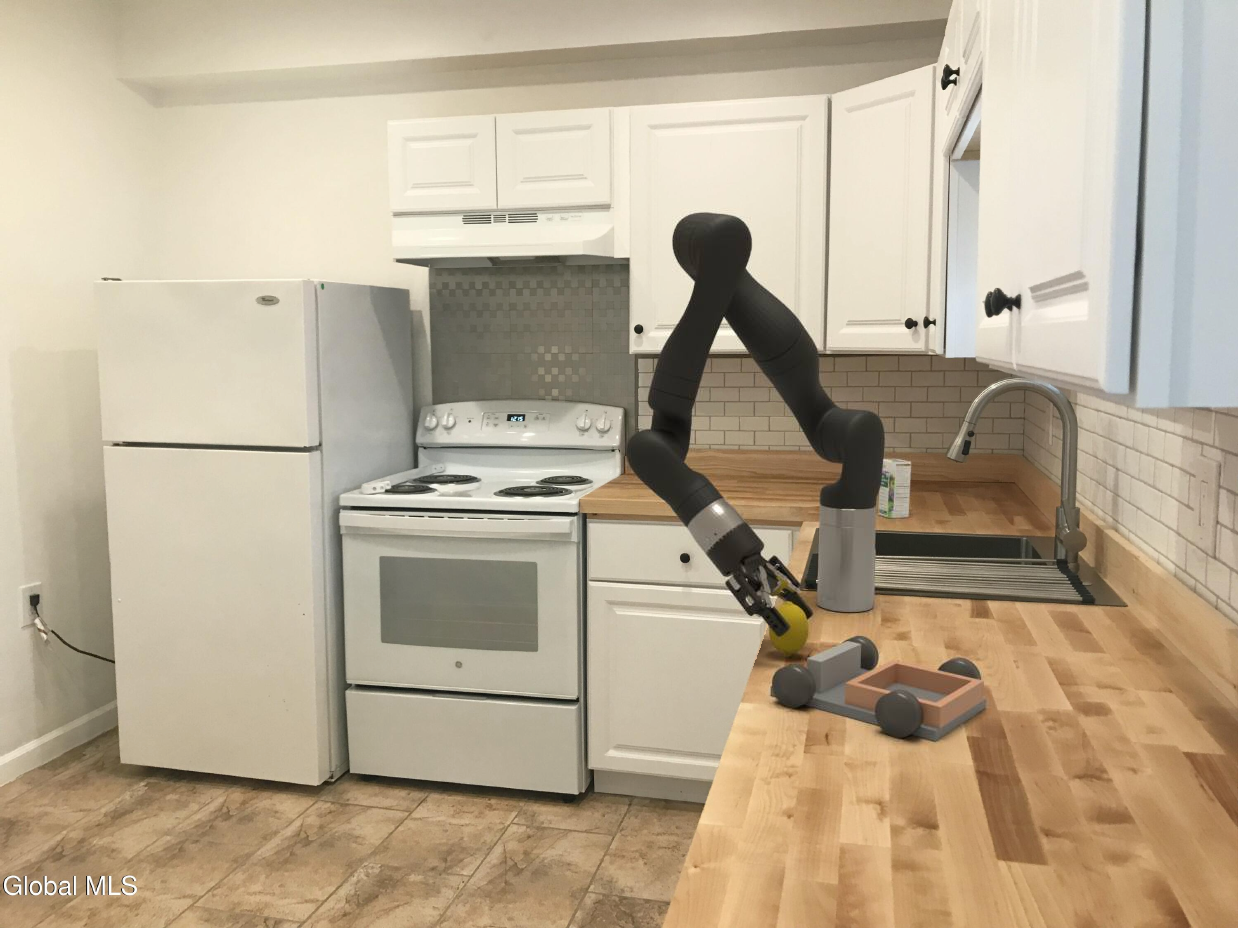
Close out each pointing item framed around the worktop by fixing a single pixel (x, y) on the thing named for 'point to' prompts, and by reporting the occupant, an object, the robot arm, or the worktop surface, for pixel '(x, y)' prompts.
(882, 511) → the syrup box
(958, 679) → the chassis
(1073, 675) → the worktop surface
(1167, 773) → the worktop surface
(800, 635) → the lemon
